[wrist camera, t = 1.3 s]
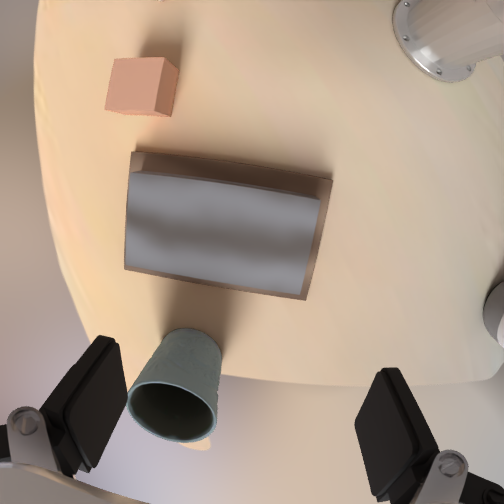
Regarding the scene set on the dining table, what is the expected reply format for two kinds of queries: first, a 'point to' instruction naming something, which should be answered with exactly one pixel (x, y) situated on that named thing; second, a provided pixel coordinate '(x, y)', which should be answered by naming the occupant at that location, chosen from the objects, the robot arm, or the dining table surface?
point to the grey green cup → (178, 388)
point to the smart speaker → (495, 314)
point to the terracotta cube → (142, 86)
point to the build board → (224, 223)
